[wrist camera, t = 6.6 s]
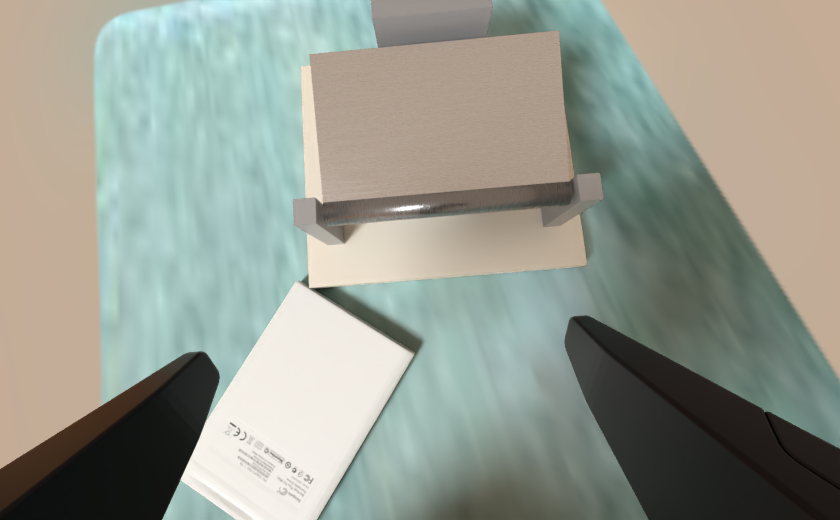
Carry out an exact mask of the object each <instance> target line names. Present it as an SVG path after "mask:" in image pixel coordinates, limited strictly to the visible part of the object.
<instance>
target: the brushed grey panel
mask: <svg viewBox="0 0 840 520" xmlns="http://www.w3.org/2000/svg"><path fill="white" fill-rule="evenodd" d="M309 55H310V66H311V77H312V87H313V98H314V109H315V120H316V131H317V142H318V153H319V164H320V174H321V185H322V196H323V207H322V209H323V218H324V221H325V224H326V225H327V226H339V225H351V224H362V223H374V222H386V221H397V220H409V219H421V218H433V217H444V216H456V215H468V214H479V213H491V212H503V211H514V210H526V209H538V208H550V207H561V206H568V205H569V204H570V202H571V199H572V186H571V183H570V181H569V167H568V153H567V138H566V124H565V110H564V95H563V81H562V67H561V52H560V38H559V31H549V32H538V33H528V34H517V35H507V36H496V37H486V38H475V39H465V40H455V41H444V42H434V43H423V44H413V45H402V46H392V47H381V48H371V49H360V50H350V51H340V52H329V53H319V54H309Z"/></svg>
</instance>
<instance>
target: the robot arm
mask: <svg viewBox="0 0 840 520" xmlns="http://www.w3.org/2000/svg"><path fill="white" fill-rule="evenodd" d="M565 348H566V351H567V354H568V356H569V359H570V361H571V364H572V366H573V369H574V372H575V374H576V377H577V379H578V382H579V384H580V387H581V389H582V392H583V394H584V397H585V399H586V402H587V404H588V406H589V408H590V410H591V412H592V413H593V415H594V417H595V419H596V421H597V423H598V425H599V427H600V429H601V430H602V432H603V434H604V436H605V438H606V440H607V442H608V444H609V446H610V447H611V449H612V451H613V453H614V455H615V457H616V459H617V461H618V463H619V464H620V466H621V468H622V470H623V472H624V474H625V476H626V478H627V479H628V481H629V483H630V485H631V487H632V489H633V491H634V493H635V495H636V496H637V498H638V500H639V502H640V504H641V506H642V508H643V510H644V512H645V513H646V515H647V517H648V519H649V520H840V449H839V448H837V447H835V446H834V445H832V444H830V443H828V442H826V441H824V440H822V439H820V438H818V437H816V436H814V435H812V434H810V433H808V432H807V431H805V430H803V429H801V428H799V427H797V426H795V425H793V424H791V423H789V422H787V421H786V420H784V419H782V418H780V417H778V416H776V415H774V414H772V413H771V412H764V410H763V409H762V408H760V407H758V406H756V405H754V404H752V403H751V402H749V401H747V400H745V399H743V398H741V397H739V396H738V395H736V394H734V393H732V392H730V391H728V390H726V389H724V388H723V387H721V386H719V385H717V384H715V383H713V382H711V381H710V380H708V379H706V378H704V377H702V376H700V375H698V374H696V373H695V372H693V371H691V370H689V369H687V368H685V367H683V366H681V365H680V364H678V363H676V362H674V361H672V360H670V359H668V358H667V357H665V356H663V355H661V354H659V353H657V352H655V351H653V350H652V349H650V348H648V347H646V346H644V345H642V344H640V343H639V342H637V341H635V340H633V339H631V338H629V337H627V336H625V335H624V334H622V333H620V332H618V331H616V330H614V329H612V328H610V327H609V326H607V325H605V324H603V323H601V322H599V321H597V320H596V319H594V318H592V317H590V316H586V315H585V316H574V317H571V318H570V320H569V324H568V328H567V332H566V336H565ZM219 379H220V376H219V371H218V369H217V368H216V366H215V365H214V364H213V362H212V361H211V359H210V358H209V356H208V355H207V354H206V353H205V352H202V351H199V352H189V353H186V354H184V355H182V356H180V357H179V358H177V359H176V360H174V361H172V362H171V363H169V364H168V365H166V366H164V367H163V368H161V369H160V370H158V371H156V372H155V373H153V374H152V375H150V376H148V377H147V378H145V379H144V380H142V381H140V382H139V383H137V384H136V385H134V386H132V387H131V388H129V389H128V390H126V391H124V392H123V393H121V394H120V395H118V396H116V397H115V398H113V399H112V400H110V401H108V402H107V403H105V404H104V405H102V406H100V407H99V408H97V409H96V410H94V411H92V412H91V413H89V414H88V415H86V416H85V417H83V418H81V419H80V420H78V421H76V422H75V423H73V424H72V425H70V426H68V427H67V428H65V429H64V430H62V431H60V432H59V433H57V434H56V435H54V436H52V437H51V438H49V439H48V440H46V441H44V442H43V443H41V444H40V445H38V446H36V447H35V448H33V449H32V450H30V451H28V452H27V453H25V454H24V455H22V456H20V457H19V458H17V459H16V460H14V461H12V462H11V463H9V464H8V465H6V466H4V467H3V468H1V469H0V520H162V519H163V517H164V514H165V512H166V510H167V508H168V506H169V504H170V501H171V499H172V497H173V495H174V493H175V491H176V488H177V486H178V484H179V482H180V480H181V478H182V475H183V473H184V471H185V469H186V467H187V465H188V462H189V460H190V458H191V456H192V454H193V452H194V449H195V447H196V445H197V443H198V440H199V438H200V436H201V433H202V430H203V428H204V425H205V422H206V419H207V416H208V413H209V410H210V407H211V404H212V401H213V398H214V396H215V393H216V390H217V387H218V384H219Z"/></svg>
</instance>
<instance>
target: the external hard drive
mask: <svg viewBox="0 0 840 520" xmlns="http://www.w3.org/2000/svg"><path fill="white" fill-rule="evenodd" d="M414 355H415V352H414V351H412V350H411V349H409V348H408V347H406V346H404V345H403V344H401V343H400V342H398V341H396V340H395V339H393V338H391V337H390V336H388V335H387V334H385V333H383V332H382V331H380V330H379V329H377V328H375V327H374V326H372V325H371V324H369V323H367V322H366V321H364V320H363V319H361V318H359V317H358V316H356V315H355V314H353V313H351V312H350V311H348V310H346V309H345V308H343V307H342V306H340V305H338V304H337V303H335V302H334V301H332V300H331V299H329V298H327V297H326V296H324V295H323V294H321V293H319V292H318V291H316V290H315V289H313V288H309V286H308V285H307V284H305V283H303V282H302V281H296V282H295V283H294V285H293V287H292V288H291V290H290V291H289V293H288V295H287V296H286V298H285V299H284V301H283V302H282V304H281V305H280V307H279V309H278V310H277V312H276V313H275V315H274V317H273V318H272V320H271V321H270V323H269V324H268V326H267V327H266V329H265V331H264V332H263V334H262V335H261V337H260V338H259V340H258V342H257V343H256V345H255V346H254V348H253V349H252V351H251V352H250V354H249V356H248V357H247V359H246V360H245V362H244V363H243V365H242V367H241V368H240V370H239V371H238V373H237V374H236V376H235V377H234V379H233V380H232V382H231V384H230V385H229V387H228V388H227V390H226V392H225V393H224V395H223V396H222V398H221V399H220V401H219V402H218V404H217V406H216V407H215V409H214V410H213V412H212V413H211V415H210V417H209V418H208V420H207V421H206V423H205V425H204V428H203V430H202V433H201V436H200V438H199V440H198V443H197V445H196V447H195V449H194V452H193V454H192V456H191V458H190V460H189V462H188V465H187V467H186V469H185V471H184V473H183V475H182V478H181V480H182V481H183V482H184V483H186V484H187V485H189V486H190V487H191V488H193V489H194V490H195V491H197V492H198V493H200V494H201V495H203V496H204V497H206V498H207V499H208V500H210V501H211V502H213V503H214V504H215V505H217V506H218V507H220V508H221V509H222V510H224V511H225V512H227V513H228V514H229V515H231V516H232V517H233V518H235V519H236V520H317V519H318V517H319V515H320V514H321V512H322V510H323V509H324V507H325V505H326V503H327V502H328V500H329V498H330V497H331V495H332V493H333V492H334V490H335V488H336V487H337V485H338V483H339V482H340V480H341V478H342V477H343V475H344V473H345V472H346V470H347V468H348V467H349V465H350V463H351V461H352V460H353V458H354V456H355V455H356V453H357V451H358V450H359V448H360V446H361V445H362V443H363V441H364V440H365V438H366V436H367V434H368V433H369V431H370V429H371V428H372V426H373V424H374V423H375V421H376V419H377V418H378V416H379V414H380V413H381V411H382V409H383V407H384V406H385V404H386V402H387V401H388V399H389V397H390V396H391V394H392V392H393V390H394V389H395V387H396V385H397V383H398V382H399V380H400V378H401V377H402V375H403V373H404V372H405V370H406V368H407V367H408V365H409V363H410V361H411V360H412V358H413V356H414Z"/></svg>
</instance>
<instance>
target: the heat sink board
mask: <svg viewBox="0 0 840 520" xmlns="http://www.w3.org/2000/svg"><path fill="white" fill-rule="evenodd" d="M371 6H372V19H373V24H374V29H375V34H376V39H377V44H378V48H381V47H392V46H402V45H413V44H423V43H434V42H444V41H455V40H465V39H475V38H486V37H487V32H488V27H489V23H490V18H491V13H492V8H493V6H492V0H371ZM301 83H302V110H303V137H304V164H305V191H306V198H302V199H293V211H294V226H296V227H297V228H299V229H301V230H302V231H304V232H306V233H307V245H308V272H309V288H313V289H317V288H330V287H342V286H354V285H366V284H379V283H391V282H403V281H415V280H427V279H440V278H452V277H464V276H476V275H489V274H501V273H513V272H525V271H537V270H550V269H562V268H574V267H582V266H586V265H587V260H586V253H585V246H584V239H583V232H582V225H581V218H580V213H582V212H584V211H585V210H587V209H588V208H590V207H592V206H593V205H595V204H597V203H598V202H600V201H601V200H603V199H604V197H603V190H602V184H601V177H600V173H589V174H578V175H576V176H574V170H573V163H572V156H571V149H570V142H569V135H568V128H567V121H566V114H565V124H566V138H567V153H568V167H569V181H570V183H571V186H572V199H571V202H570V204H569V205H568V206H561V207H550V208H538V209H526V210H514V211H503V212H491V213H479V214H468V215H456V216H444V217H433V218H421V219H409V220H397V221H386V222H374V223H362V224H351V225H339V226H327V225H326V224H325V221H324V218H323V209H322V207H323V196H322V185H321V174H320V164H319V153H318V142H317V131H316V120H315V109H314V98H313V87H312V77H311V66H303V67H301ZM564 110H565V107H564Z"/></svg>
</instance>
